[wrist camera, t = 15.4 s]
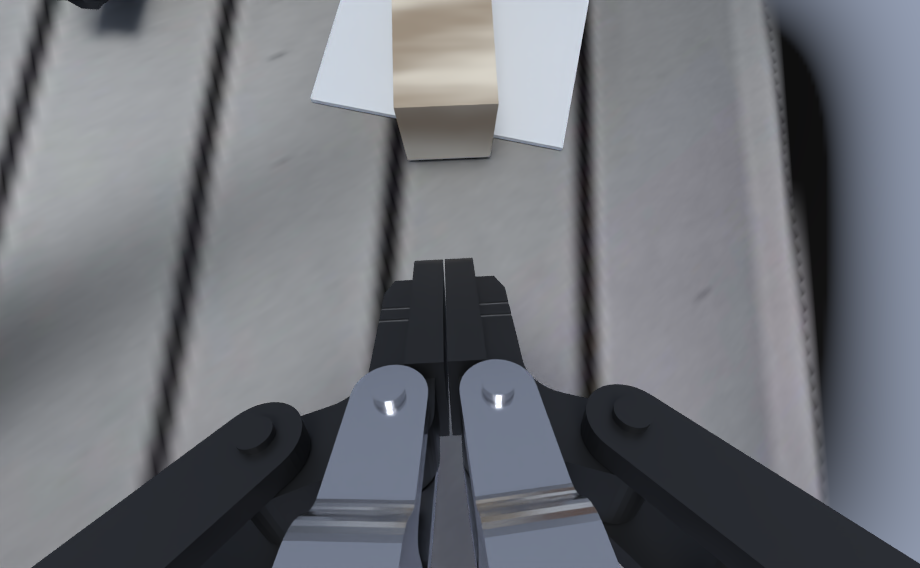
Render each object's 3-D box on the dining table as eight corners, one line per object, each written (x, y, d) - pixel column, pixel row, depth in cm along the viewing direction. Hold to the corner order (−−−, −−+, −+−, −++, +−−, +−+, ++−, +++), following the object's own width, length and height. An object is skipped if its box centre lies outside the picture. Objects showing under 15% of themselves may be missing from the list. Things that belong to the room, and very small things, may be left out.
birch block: (498, 103, 18) (484, -102, 20) (393, 107, 17) (389, -98, 19) (490, 156, 22) (479, -12, 24) (408, 160, 22) (403, -9, 24)
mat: (561, 150, 23) (562, 148, 23) (312, 102, 23) (310, 99, 23) (594, -36, 25) (596, -41, 25) (366, -77, 26) (365, -81, 25)
